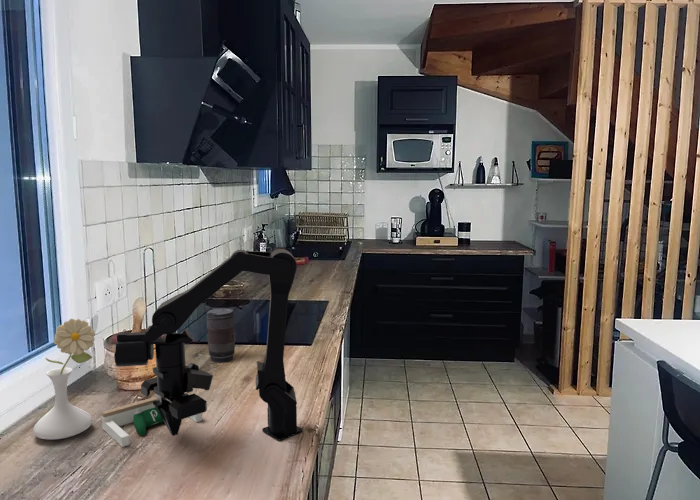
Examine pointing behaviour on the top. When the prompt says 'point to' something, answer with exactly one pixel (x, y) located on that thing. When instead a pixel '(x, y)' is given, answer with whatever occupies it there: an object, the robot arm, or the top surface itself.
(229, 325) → the dark grey cylinder
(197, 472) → the top surface
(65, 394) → the flower in vase
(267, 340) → the robot arm
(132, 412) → the frame
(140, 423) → the gaming controller
